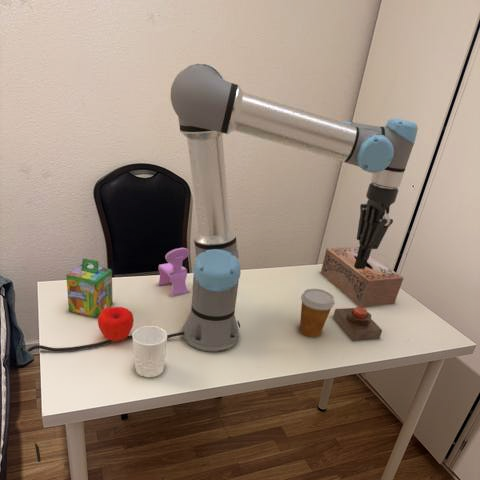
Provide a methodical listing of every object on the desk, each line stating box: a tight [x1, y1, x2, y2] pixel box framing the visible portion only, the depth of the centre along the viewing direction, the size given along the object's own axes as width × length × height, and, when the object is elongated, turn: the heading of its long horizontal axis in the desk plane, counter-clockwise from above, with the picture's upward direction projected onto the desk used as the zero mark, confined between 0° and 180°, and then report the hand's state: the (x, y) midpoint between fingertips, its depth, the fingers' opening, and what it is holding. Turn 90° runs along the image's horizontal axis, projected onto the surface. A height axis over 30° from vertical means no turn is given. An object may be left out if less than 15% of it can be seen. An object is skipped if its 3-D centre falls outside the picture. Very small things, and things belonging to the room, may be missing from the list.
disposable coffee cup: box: [299, 288, 335, 338], centre depth 126 cm, size 10×10×12 cm
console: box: [332, 307, 383, 342], centre depth 132 cm, size 9×13×5 cm
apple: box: [97, 306, 135, 342], centre depth 113 cm, size 9×9×8 cm
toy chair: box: [157, 247, 190, 297], centre depth 137 cm, size 8×9×15 cm
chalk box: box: [65, 258, 114, 319], centre depth 122 cm, size 9×9×15 cm
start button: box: [353, 306, 369, 318], centre depth 131 cm, size 4×4×2 cm
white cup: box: [131, 325, 168, 378], centre depth 103 cm, size 8×8×10 cm
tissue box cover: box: [320, 246, 404, 308], centre depth 155 cm, size 26×14×10 cm, turn 22°
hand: (359, 267), depth 125 cm, fingers closed
